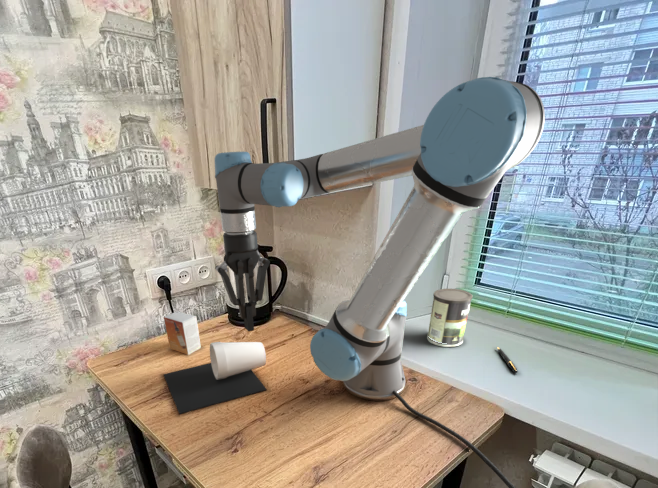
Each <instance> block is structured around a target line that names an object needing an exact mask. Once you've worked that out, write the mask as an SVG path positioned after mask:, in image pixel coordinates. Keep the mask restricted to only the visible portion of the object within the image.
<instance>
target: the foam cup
mask: <svg viewBox="0 0 658 488" xmlns="http://www.w3.org/2000/svg"><path fill="white" fill-rule="evenodd" d="M209 358H210V363H211V365H212V369H213V373H214V376H215V378H216V379H217V380H218V379H224V378H226V377H229V376H232V375H235V374H239V373H242V372H245V371H249V370H252V371H253V370H256V369H259V368H262V367H265V366H266V364H267V353H266V349H265V345H264V344H263V342H261V341H227V342H226V341H222V342H221V341H214V342H210V343H209Z"/></svg>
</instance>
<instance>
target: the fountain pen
mask: <svg viewBox="0 0 658 488" xmlns="http://www.w3.org/2000/svg"><path fill="white" fill-rule="evenodd" d="M497 352H499V354H500V356H501V357H502V359H503V360H504V361H505V363H506V364H507V366H508V367H509V368H510V370H511V371H512V372H513V373H515V374H518V373H519V371H518V369H517V367H516V365H515V364H514V363H513V361H512V360H510V358H509V357H508V355H507V354H506V353H505V352H504V351H503V350H502V349H501V348H500V347H497Z"/></svg>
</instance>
